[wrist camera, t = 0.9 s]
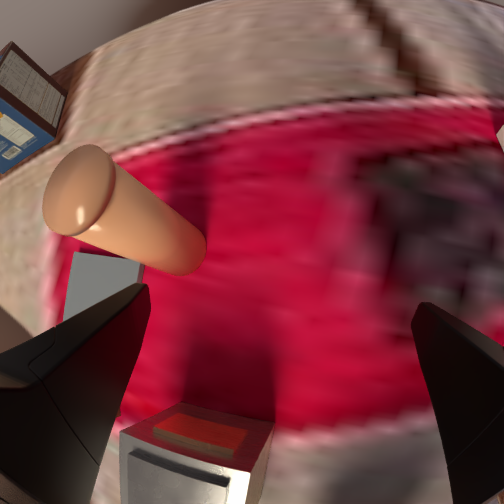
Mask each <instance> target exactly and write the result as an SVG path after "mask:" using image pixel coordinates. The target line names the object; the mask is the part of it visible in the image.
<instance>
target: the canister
mask: <svg viewBox="0 0 504 504" xmlns="http://www.w3.org/2000/svg"><path fill="white" fill-rule="evenodd" d="M42 210H43V217H44V220H45V223H46V225H47V226H48V227H49V229H51V230H52V231H54V232H56V233H59V234H61V235H64V236H67V237H74V238H76V239H79V240H81V241H84V242H86V243H89V244H91V245H94V246H96V247H99V248H102V249H104V250H107V251H109V252H112V253H115V254H117V255H120V256H122V257H125V258H128V259H130V260H133V261H136V262H139V263H141V264H144V265H147V266H149V267H152V268H155V269H158V270H161V271H163V272H166V273H169V274H172V275H175V276H185V275H188V274H190V273H192V272H194V271H195V270H196V269H197V268H198V267H199V266H200V265H201V263H202V262H203V260H204V257H205V254H206V241H205V238H204V236H203V234H202V233H201V231H200V230H199V229H198V228H196V227H195V226H194V225H192V224H191V223H190V222H189V221H187V220H186V219H185V218H184V217H182V216H181V215H180V214H179V213H177V212H176V211H175V210H174V209H172V208H171V207H170V206H169V205H167V204H166V203H165V202H164V201H162V200H161V199H160V198H159V197H157V196H156V195H155V194H154V193H152V192H151V191H150V190H149V189H147V188H146V187H145V186H144V185H142V184H141V183H140V182H139V181H137V180H136V179H135V178H134V177H132V176H131V175H130V174H129V173H127V172H126V171H125V170H124V169H123V168H121V167H120V166H119V165H118V164H116V163H115V162H114V161H113V160H112V158H111V157H110V156H109V155H108V154H107V153H106V152H105V151H104V150H102V149H101V148H100V147H98V146H96V145H84V146H81V147H78V148H77V149H75V150H73V151H72V152H70V153H69V154H68V155H67V156H66V157H65V158H64V159H63V160H62V161H61V162H60V163H59V164H58V166H57V167H56V168H55V170H54V172H53V173H52V175H51V177H50V179H49V181H48V183H47V186H46V189H45V193H44V197H43V205H42Z"/></svg>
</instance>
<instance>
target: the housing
mask: <svg viewBox="0 0 504 504" xmlns="http://www.w3.org/2000/svg"><path fill="white" fill-rule="evenodd" d="M274 427H275V422H269V421H264V420H258V419H253V418H247V417H242V416H238V415H233V414H228V413H224V412H220V411H215V410H211V409H207V408H203V407H199V406H195V405H192V404H188V403H185V402H180V403H178V404H176V405H174V406H172V407H170V408H168V409H166V410H164V411H162V412H160V413H158V414H156V415H154V416H152V417H150V418H147V419H145V420H143V421H141V422H139V423H137V424H135V425H132V426H130V427H128V428H126V429H123V430H121V431H120V444H119V463H120V495H121V504H258V502H259V500H260V497H261V493H262V488H263V483H264V478H265V474H266V469H267V464H268V459H269V453H270V448H271V443H272V438H273V432H274Z"/></svg>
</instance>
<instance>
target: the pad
mask: <svg viewBox="0 0 504 504" xmlns="http://www.w3.org/2000/svg"><path fill="white" fill-rule="evenodd" d="M144 266H145V265H144V264H141V263H139V262H136V261H133V260H130V259H123V258H116V257H108V256H101V255H94V254H87V253H80V252H74V256H73V261H72V266H71V271H70V277H69V283H68V289H67V295H66V302H65V309H64V317H63V321H65V320H67V319H69V318H70V317H72V316H74V315H76V314H78V313H80V312H81V311H83V310H85V309H87V308H89V307H91V306H92V305H94V304H96V303H98V302H100V301H102V300H104V299H105V298H107V297H109V296H111V295H113V294H115V293H117V292H118V291H120V290H122V289H124V288H126V287H128V286H130V285H132V284H133V283H142V277H143V271H144Z"/></svg>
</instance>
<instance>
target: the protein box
mask: <svg viewBox="0 0 504 504" xmlns="http://www.w3.org/2000/svg"><path fill="white" fill-rule="evenodd" d="M66 96H67V91H66V90H65V89H63V88H62V87H61V86H60V85H59V84H58V83H57V82H56V81H55V80H54V79H52V78H51V77H50V76H49V75H48V74H47V73H46V72H45V71H44V70H43V69H42V68H40V67H39V66H38V65H37V64H36V63H35V62H34V61H33V60H32V59H31V58H30V57H29V56H28V55H27V54H26V53H24V52H23V51H22V50H21V49H20V48H19V47H18V46H17V45H16V44H15V43H14V42H13V41H11V42H10V43H9V44H7V45H6V46H5V47H4V48H3V49H2V50H1V51H0V173H2V174H3V173H5V172H6V171H7V170H9V169H10V168H12V167H13V166H14V165H16V164H17V163H19V162H20V161H22V160H23V159H24V158H26V157H27V156H29V155H30V154H32V153H33V152H35V151H37V150H38V149H40V148H41V147H43V146H44V145H46V144H48V143H49V142H51V141H53V140H54V139H55V136H56V132H57V127H58V124H59V120H60V116H61V113H62V109H63V106H64V102H65V99H66Z"/></svg>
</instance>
